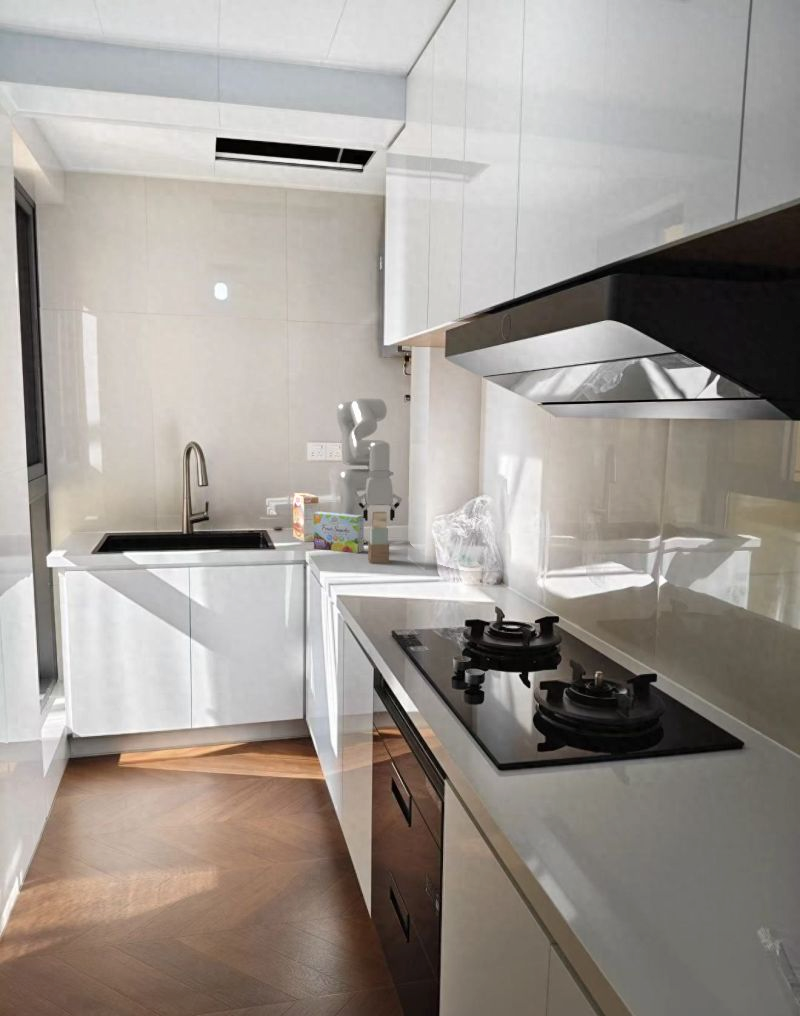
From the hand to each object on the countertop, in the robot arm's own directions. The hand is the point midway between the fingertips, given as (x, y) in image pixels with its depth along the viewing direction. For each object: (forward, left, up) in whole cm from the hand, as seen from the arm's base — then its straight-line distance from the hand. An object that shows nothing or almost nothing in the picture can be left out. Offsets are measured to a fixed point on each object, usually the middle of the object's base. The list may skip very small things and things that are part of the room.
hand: (378, 520), depth 314 cm
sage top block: (0, 0, -9) cm, 9 cm away
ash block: (0, 0, -3) cm, 3 cm away
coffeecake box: (-55, -25, -16) cm, 63 cm away
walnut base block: (0, 0, -16) cm, 16 cm away
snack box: (-26, -13, -16) cm, 33 cm away
